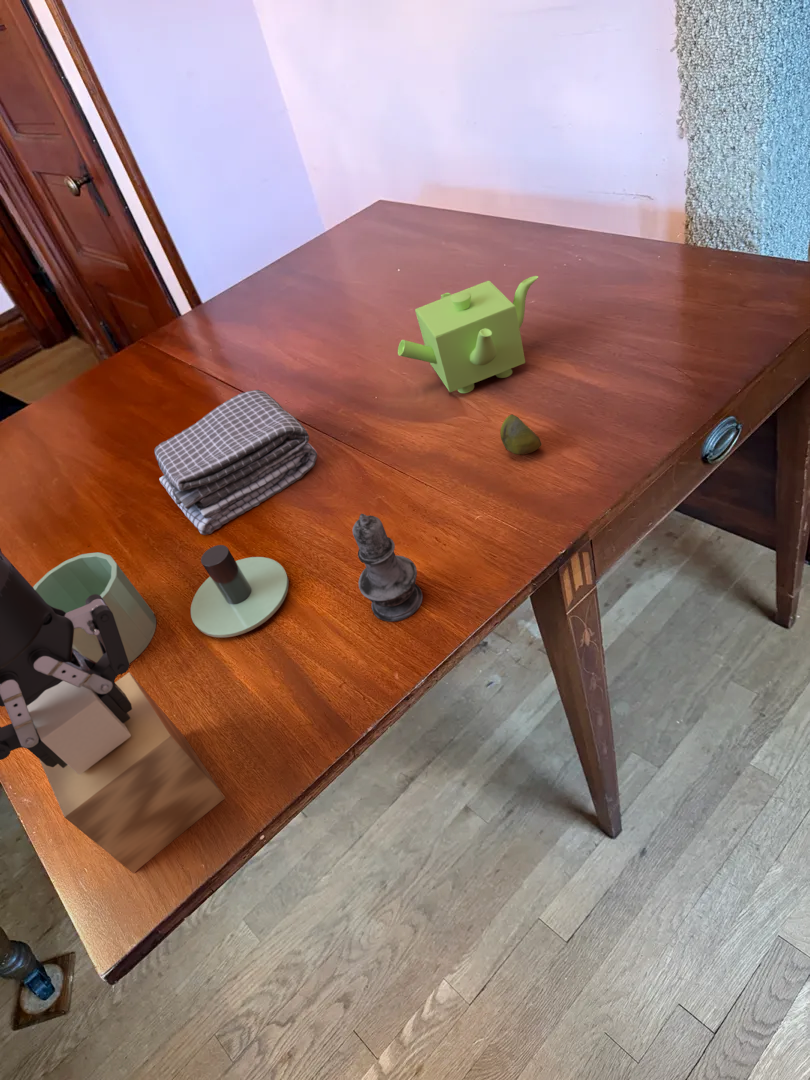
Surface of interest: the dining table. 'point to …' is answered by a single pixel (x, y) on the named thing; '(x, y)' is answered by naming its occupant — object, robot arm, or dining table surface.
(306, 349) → the dining table surface
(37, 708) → the block
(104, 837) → the stand
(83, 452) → the dining table surface
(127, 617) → the pot
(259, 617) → the lid
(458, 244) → the dining table surface
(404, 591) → the chess piece
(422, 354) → the kettle
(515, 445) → the olive green rock
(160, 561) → the dining table surface
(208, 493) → the towel
